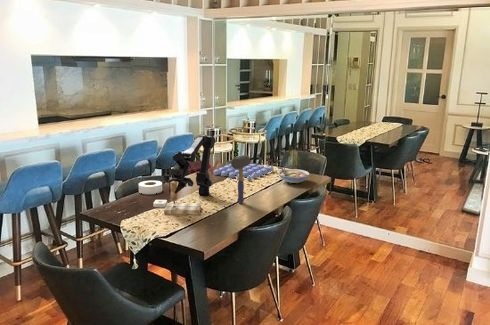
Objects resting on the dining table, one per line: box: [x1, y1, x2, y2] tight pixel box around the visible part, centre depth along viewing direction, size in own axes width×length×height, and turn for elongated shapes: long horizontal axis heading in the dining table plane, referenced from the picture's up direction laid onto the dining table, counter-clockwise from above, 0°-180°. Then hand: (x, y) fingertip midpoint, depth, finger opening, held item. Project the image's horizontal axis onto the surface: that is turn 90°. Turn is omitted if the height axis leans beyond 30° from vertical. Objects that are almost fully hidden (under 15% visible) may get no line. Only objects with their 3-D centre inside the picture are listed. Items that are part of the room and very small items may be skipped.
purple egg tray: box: [212, 163, 273, 181], centre depth 318 cm, size 35×34×5 cm
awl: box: [170, 181, 179, 204], centre depth 232 cm, size 4×4×13 cm
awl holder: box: [152, 199, 168, 208], centre depth 243 cm, size 7×7×2 cm
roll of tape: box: [138, 180, 163, 195], centre depth 271 cm, size 16×16×6 cm
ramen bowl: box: [277, 167, 310, 184], centre depth 293 cm, size 25×23×8 cm
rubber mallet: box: [230, 154, 251, 204], centre depth 245 cm, size 12×8×30 cm, turn 146°
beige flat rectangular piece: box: [163, 202, 202, 215], centre depth 234 cm, size 20×12×3 cm, turn 91°
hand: (172, 193), depth 231 cm, fingers closed on awl, 4 cm apart
